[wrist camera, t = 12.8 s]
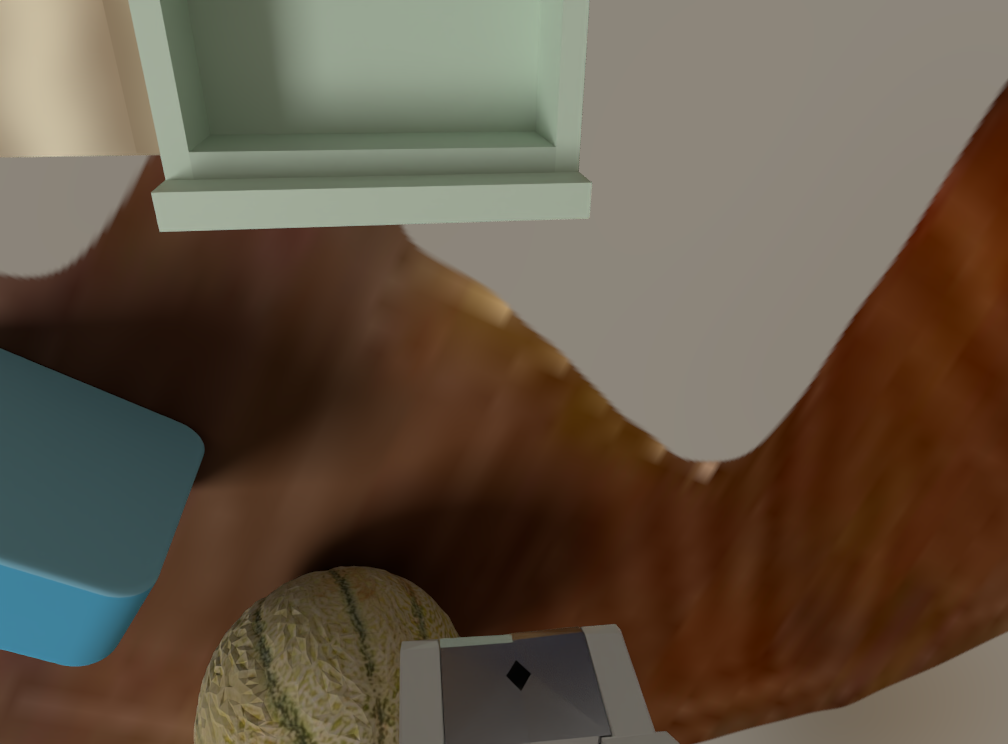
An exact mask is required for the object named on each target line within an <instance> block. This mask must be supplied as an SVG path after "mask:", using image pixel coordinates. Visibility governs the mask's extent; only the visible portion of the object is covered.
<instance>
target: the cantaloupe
mask: <svg viewBox="0 0 1008 744" xmlns="http://www.w3.org/2000/svg"><path fill="white" fill-rule="evenodd" d="M442 638H460V636H459V634H458V633H457V632H456V630H455V628H454V626H453V624H452V622H451V620H450V618H449V616H448V615H447V614H446V613H445V612H444V611H443V610H442V609H441V608H440V607H439V606H438V605H437V603H436V602H435V601H434V600H433V598H432V597H430V596H429V595H428V594H427V593H426V592H425V591H424V590H422V589H421V588H420V587H418V586H417V585H415V584H414V583H412V582H411V581H409V580H407V579H405V578H402V577H400V576H397V575H394V574H391V573H389V572H387V571H386V570H382V569H377V568H371V567H366V566H365V567H358V566H350V567H343V566H340V567H336V568H333V569H330V570H327V571H315V572H311V573H308V574H305V575H302V576H300V577H297V578H296V579H294V580H291V581H289V582H287V583H284V584H283V585H281V586H280V587H279V588H277V589H276V590H275V591H273V592H272V593H271V594H269V595H268V596H267V597H266V598H262V599H260V600H258V601H257V602H255V603H254V604H253V605H252V607H250V608H249V609H247V610H246V611H245V612H244V613H243V615H242V616H241V617H240V618H239V619H238V620H237V621H236V622H235V623H234V624H233V626H232V627H231V628H230V629H229V630H228V631H227V632H226V634H225V635H224V637H223V639H222V640H221V643H220V644H219V646H218V647H217V649H216V650H215V651H214V653H213V656H212V659H211V661H210V663H209V665H208V667H207V669H206V673H205V676H204V678H203V681H202V685H201V690H200V694H199V700H198V706H197V714H196V720H195V725H194V744H399V705H400V650H401V644H402V641H416V640H430V639H438V640H439V641H440V639H442ZM439 651H440V643H439Z"/></svg>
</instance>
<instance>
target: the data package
mask: <svg viewBox="0 0 1008 744" xmlns="http://www.w3.org/2000/svg"><path fill="white" fill-rule="evenodd" d="M204 452H205V448H204V444H203V441H202V440H201V438H200V437H199V435H198V434H197V433H196V432H195V431H193V430H192V429H191V428H189V427H188V426H186V425H184V424H182V423H180V422H177V421H175V420H173V419H170V418H168V417H165V416H163V415H160V414H158V413H156V412H153V411H151V410H148V409H146V408H144V407H141V406H139V405H136V404H134V403H131V402H129V401H127V400H124V399H122V398H119V397H117V396H115V395H112V394H110V393H107V392H105V391H102V390H100V389H98V388H95V387H93V386H90V385H88V384H85V383H83V382H81V381H78V380H76V379H73V378H71V377H69V376H66V375H64V374H61V373H59V372H56V371H54V370H52V369H49V368H47V367H44V366H42V365H40V364H37V363H35V362H32V361H30V360H27V359H25V358H23V357H20V356H18V355H15V354H13V353H10V352H8V351H6V350H3V349H1V348H0V649H2V650H6V651H10V652H14V653H18V654H22V655H26V656H30V657H33V658H37V659H41V660H45V661H49V662H53V663H57V664H61V665H65V666H84V665H89V664H92V663H95V662H98V661H100V660H102V659H104V658H105V657H107V656H108V655H109V654H110V653H112V651H113V650H114V649H115V648H116V647H117V645H118V644H119V642H120V640H121V639H122V637H123V635H124V634H125V632H126V630H127V629H128V627H129V625H130V624H131V622H132V620H133V619H134V617H135V615H136V614H137V612H138V610H139V609H140V607H141V605H142V604H143V602H144V601H145V599H146V597H147V596H148V594H149V592H150V591H151V589H152V587H153V586H154V584H155V582H156V581H157V579H158V576H159V574H160V571H161V569H162V566H163V563H164V560H165V558H166V555H167V552H168V550H169V547H170V544H171V542H172V539H173V536H174V534H175V531H176V528H177V526H178V523H179V520H180V517H181V515H182V512H183V509H184V507H185V504H186V501H187V499H188V496H189V493H190V491H191V488H192V485H193V482H194V480H195V477H196V474H197V472H198V469H199V466H200V464H201V461H202V458H203V456H204Z"/></svg>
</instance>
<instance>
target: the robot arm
mask: <svg viewBox="0 0 1008 744" xmlns="http://www.w3.org/2000/svg"><path fill="white" fill-rule="evenodd" d="M439 643H440V651H439ZM399 744H679V743H678V742H677V741H676V740H675V739H674V738H673V737H672V736H671V735H670V734H669V733H667V732H666V731H664V732H655V730H654V727H653V724H652V721H651V718H650V715H649V712H648V709H647V706H646V703H645V701H644V698H643V695H642V692H641V689H640V686H639V683H638V680H637V677H636V674H635V671H634V668H633V665H632V662H631V659H630V656H629V653H628V650H627V647H626V645H625V642H624V639H623V636H622V633H621V630H620V629H619V628H618V627H617V625H616V624H612V625H600V626H588V627H580V628H579V627H569V628H558V629H548V630H538V631H528V632H518V633H510V634H509V635H495V636H477V637H460V638H442V639H440V641H439V640H438V639H430V640H416V641H402V644H401V650H400V705H399Z"/></svg>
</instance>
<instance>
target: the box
mask: <svg viewBox="0 0 1008 744" xmlns="http://www.w3.org/2000/svg"><path fill="white" fill-rule="evenodd" d="M128 2H129V7H130V12H131V17H132V21H133V26H134V31H135V36H136V40H137V45H138V50H139V55H140V60H141V64H142V69H143V74H144V79H145V83H146V88H147V93H148V98H149V103H150V107H151V112H152V117H153V122H154V126H155V131H156V136H157V141H158V146H159V150H160V155H161V160H162V165H163V169H164V174H165V179H166V180H165V181H164V182H163V183H162V184H161V185H159V186H158V187H157V188H156V189H155V190H154V191H152V192H151V195H152V199H153V204H154V208H155V213H156V217H157V222H158V226H159V231H160V232H170V231H202V230H234V229H266V228H299V227H331V226H363V225H395V224H426V223H457V222H458V223H459V222H491V221H523V220H553V219H587V218H590V204H591V191H592V182H590V181H589V180H588V179H587V178H586V177H584V176H583V175H582V174H581V173H579V156H580V141H581V127H582V110H583V96H584V80H585V65H586V50H587V33H588V18H589V2H590V0H128Z"/></svg>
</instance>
